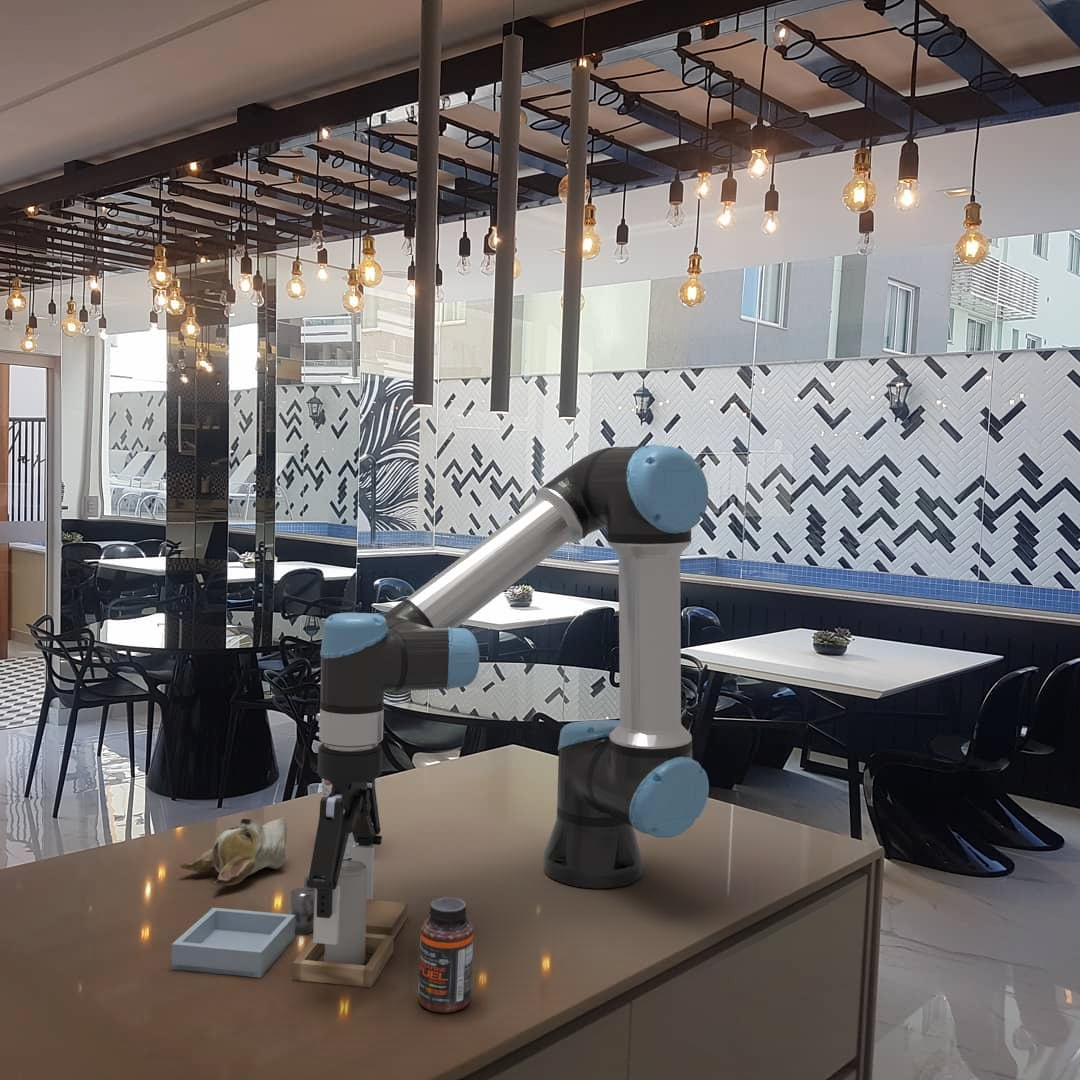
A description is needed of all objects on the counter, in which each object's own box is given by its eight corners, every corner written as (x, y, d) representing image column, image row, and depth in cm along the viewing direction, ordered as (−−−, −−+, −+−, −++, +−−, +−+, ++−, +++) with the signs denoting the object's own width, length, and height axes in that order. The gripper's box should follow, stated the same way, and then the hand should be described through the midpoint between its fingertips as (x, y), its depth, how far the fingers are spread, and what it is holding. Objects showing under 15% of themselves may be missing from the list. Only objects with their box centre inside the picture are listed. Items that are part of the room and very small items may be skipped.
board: (407, 921, 139) (407, 903, 139) (390, 946, 131) (391, 927, 131) (335, 914, 140) (335, 896, 140) (314, 939, 132) (315, 920, 132)
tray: (294, 938, 131) (295, 914, 131) (260, 977, 120) (261, 952, 120) (212, 930, 133) (213, 907, 132) (171, 969, 122) (171, 944, 122)
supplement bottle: (407, 1007, 115) (410, 907, 114) (434, 985, 120) (437, 889, 120) (455, 1020, 112) (458, 917, 112) (480, 996, 118) (483, 899, 117)
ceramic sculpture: (305, 814, 153) (215, 843, 142) (307, 870, 154) (218, 904, 143) (264, 799, 160) (175, 826, 149) (266, 853, 161) (178, 884, 150)
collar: (393, 951, 128) (393, 935, 128) (371, 987, 119) (371, 970, 119) (319, 944, 129) (320, 929, 129) (292, 979, 120) (292, 962, 120)
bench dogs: (329, 911, 140) (330, 874, 140) (308, 935, 132) (309, 897, 132) (308, 909, 140) (309, 873, 140) (286, 933, 132) (287, 895, 132)
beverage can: (355, 976, 121) (358, 876, 121) (317, 971, 122) (320, 872, 122) (370, 959, 126) (373, 862, 126) (333, 954, 127) (336, 858, 126)
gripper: (352, 719, 136) (346, 878, 137) (281, 767, 111) (275, 961, 112) (407, 723, 135) (402, 883, 136) (348, 772, 110) (341, 967, 111)
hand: (344, 918), depth 124 cm, fingers open, 13 cm apart
